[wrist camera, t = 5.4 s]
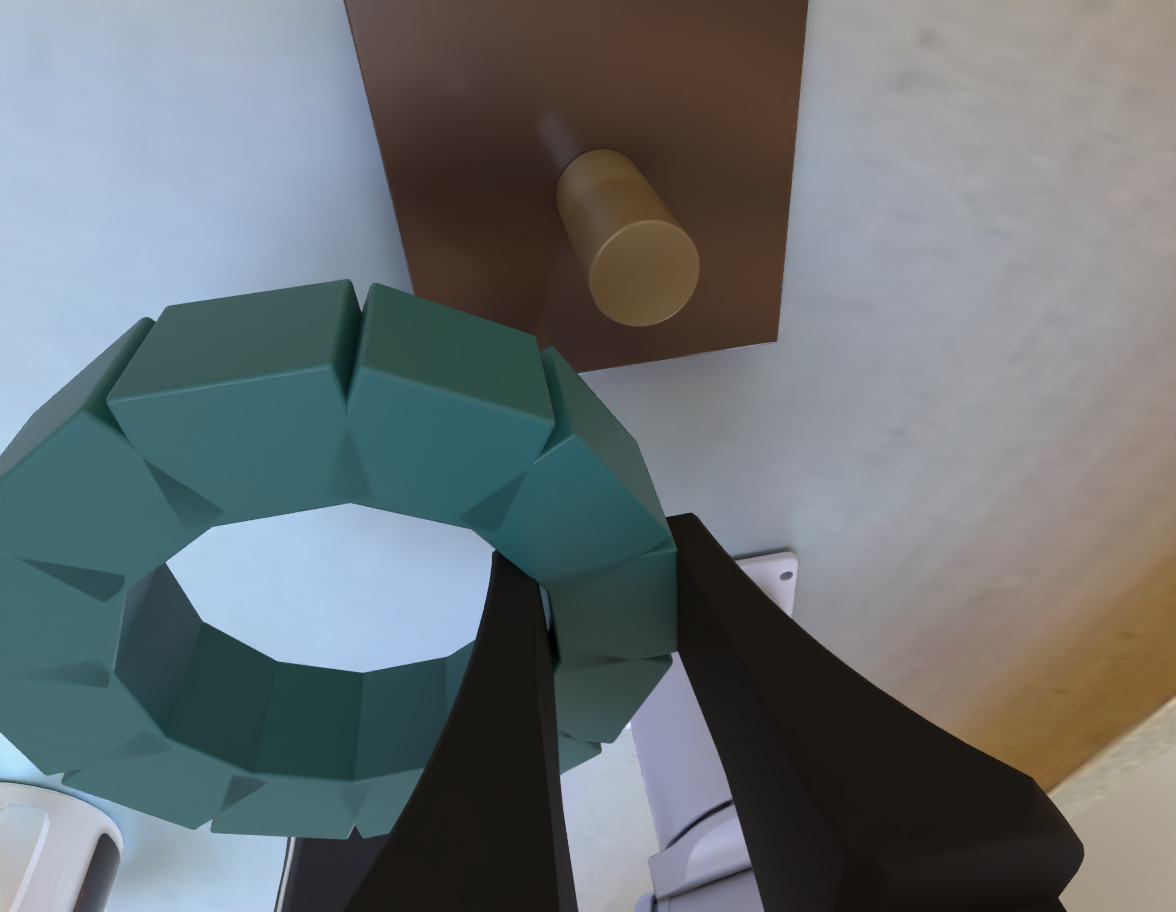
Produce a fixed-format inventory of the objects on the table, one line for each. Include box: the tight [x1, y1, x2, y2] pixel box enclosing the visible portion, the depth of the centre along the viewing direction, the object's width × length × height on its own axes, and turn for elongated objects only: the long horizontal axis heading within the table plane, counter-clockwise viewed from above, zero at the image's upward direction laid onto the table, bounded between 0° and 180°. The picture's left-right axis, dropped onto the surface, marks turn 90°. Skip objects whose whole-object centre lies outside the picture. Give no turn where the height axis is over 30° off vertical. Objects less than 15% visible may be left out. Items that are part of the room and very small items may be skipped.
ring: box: [0, 279, 678, 839], centre depth 13 cm, size 11×11×3 cm
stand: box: [344, 0, 808, 373], centre depth 17 cm, size 10×10×6 cm
